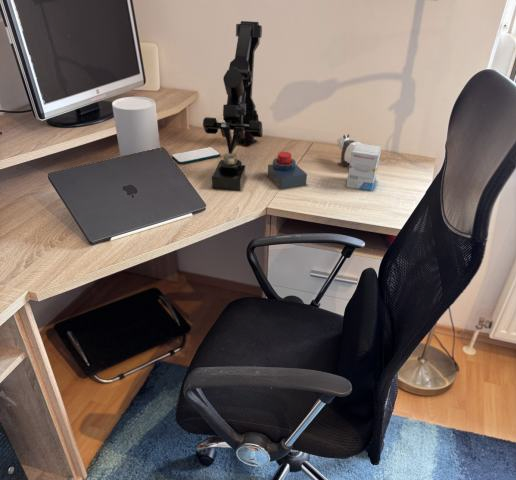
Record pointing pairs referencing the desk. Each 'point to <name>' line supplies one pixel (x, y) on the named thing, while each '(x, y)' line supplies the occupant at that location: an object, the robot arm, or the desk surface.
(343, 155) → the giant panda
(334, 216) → the desk surface
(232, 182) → the light box
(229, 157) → the light button
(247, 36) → the robot arm
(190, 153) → the smartphone
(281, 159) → the button
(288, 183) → the box
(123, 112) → the canister
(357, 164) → the ink box
